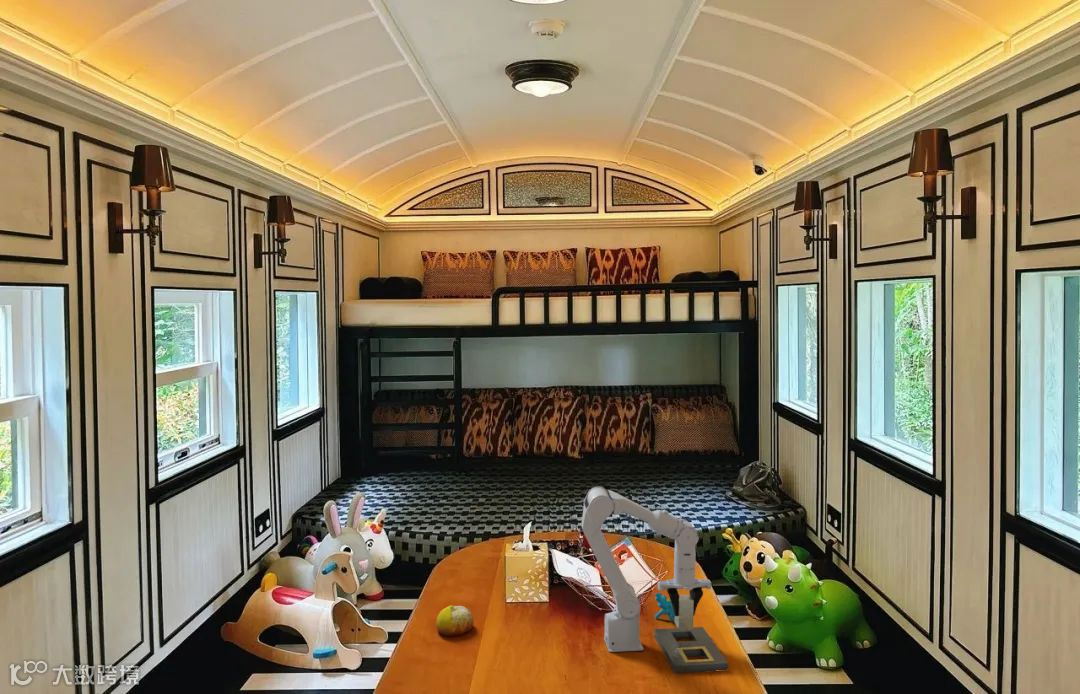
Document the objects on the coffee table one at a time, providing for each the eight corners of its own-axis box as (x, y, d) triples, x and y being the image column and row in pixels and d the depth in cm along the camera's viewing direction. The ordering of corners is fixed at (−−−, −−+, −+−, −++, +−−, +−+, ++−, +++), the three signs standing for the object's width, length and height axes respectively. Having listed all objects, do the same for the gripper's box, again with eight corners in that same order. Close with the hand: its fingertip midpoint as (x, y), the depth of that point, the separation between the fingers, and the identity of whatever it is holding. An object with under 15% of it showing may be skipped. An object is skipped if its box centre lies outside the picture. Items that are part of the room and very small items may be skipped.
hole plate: (674, 673, 178) (674, 665, 177) (654, 636, 197) (654, 628, 197) (728, 670, 179) (728, 662, 179) (702, 633, 199) (702, 626, 199)
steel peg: (678, 629, 191) (679, 600, 190) (674, 622, 195) (675, 594, 194) (693, 628, 191) (693, 600, 191) (688, 622, 195) (689, 594, 194)
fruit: (466, 640, 195) (458, 612, 195) (434, 645, 198) (426, 618, 198) (482, 621, 205) (474, 595, 206) (451, 626, 209) (443, 601, 209)
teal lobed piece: (679, 624, 201) (655, 595, 204) (664, 636, 202) (640, 608, 205) (684, 613, 212) (662, 586, 214) (670, 625, 213) (648, 598, 216)
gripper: (662, 572, 187) (662, 622, 188) (715, 570, 188) (714, 619, 189) (655, 562, 194) (655, 610, 195) (706, 561, 195) (705, 608, 196)
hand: (683, 614), depth 193 cm, fingers closed on steel peg, 4 cm apart
